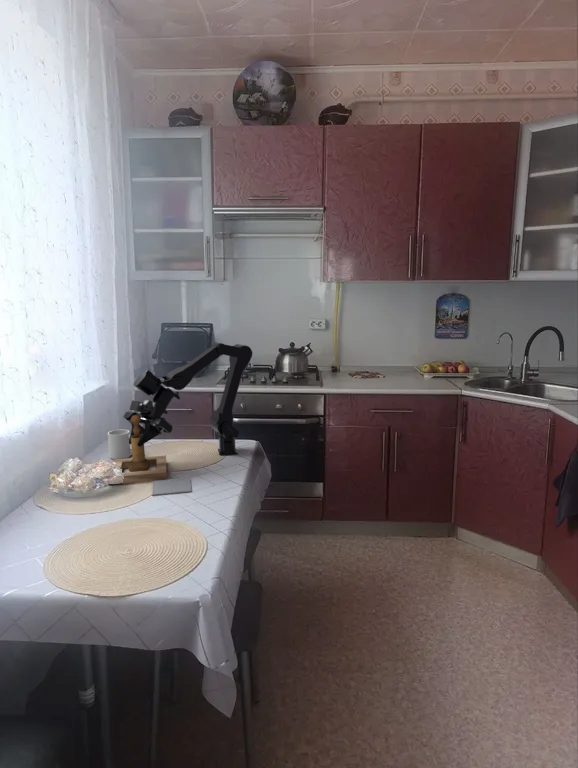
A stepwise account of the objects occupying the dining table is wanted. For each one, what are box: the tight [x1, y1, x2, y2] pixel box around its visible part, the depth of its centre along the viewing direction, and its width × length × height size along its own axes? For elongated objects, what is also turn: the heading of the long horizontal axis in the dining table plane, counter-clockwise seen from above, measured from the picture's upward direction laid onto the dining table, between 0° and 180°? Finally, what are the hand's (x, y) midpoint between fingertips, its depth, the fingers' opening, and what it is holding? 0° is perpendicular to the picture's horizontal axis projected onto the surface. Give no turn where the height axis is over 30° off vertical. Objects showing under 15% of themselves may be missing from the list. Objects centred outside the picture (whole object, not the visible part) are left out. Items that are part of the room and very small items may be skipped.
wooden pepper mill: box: [128, 414, 151, 472], centre depth 165 cm, size 7×6×18 cm
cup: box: [107, 429, 132, 460], centre depth 183 cm, size 7×10×9 cm
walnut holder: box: [112, 454, 168, 485], centre depth 167 cm, size 17×17×2 cm
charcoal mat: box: [151, 477, 192, 497], centre depth 155 cm, size 11×11×1 cm
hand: (134, 444), depth 164 cm, fingers closed on wooden pepper mill, 4 cm apart
